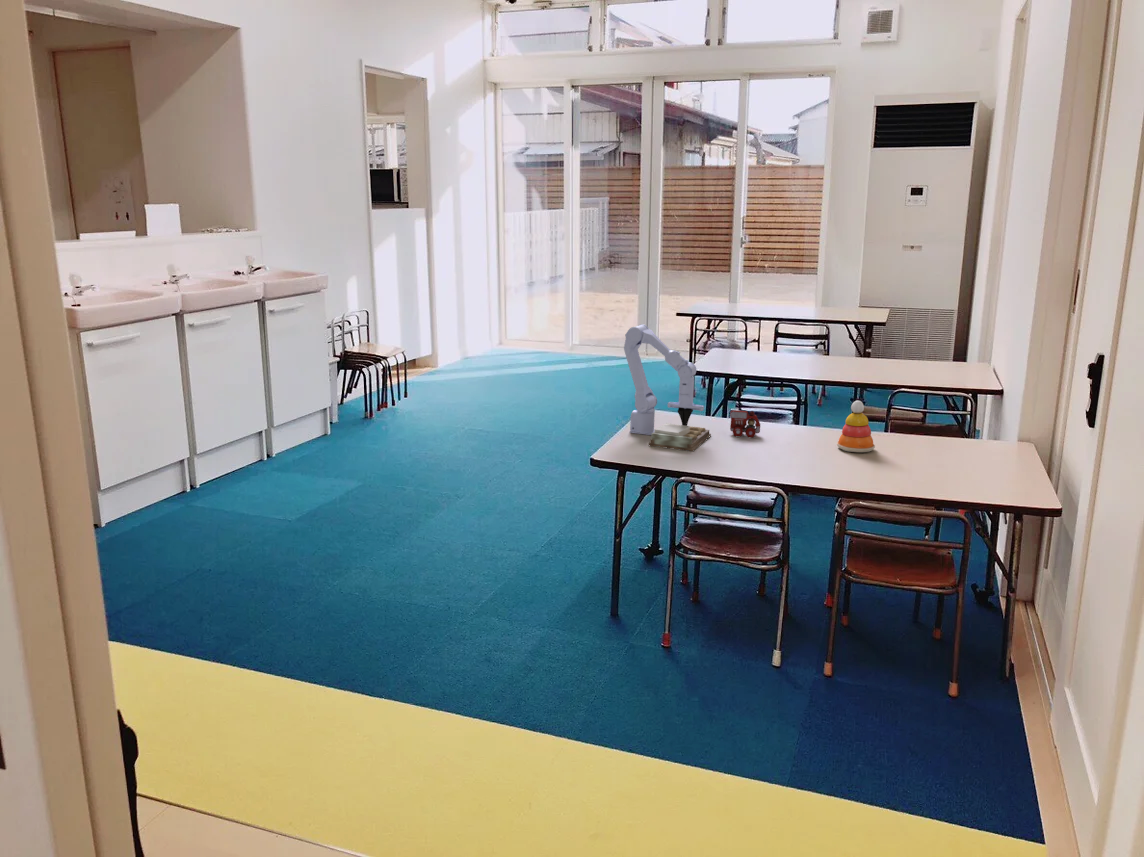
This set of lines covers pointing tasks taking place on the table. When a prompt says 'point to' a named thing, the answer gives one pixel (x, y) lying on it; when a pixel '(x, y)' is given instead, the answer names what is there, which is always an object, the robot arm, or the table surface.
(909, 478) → the table surface
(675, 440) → the brown-green flat block
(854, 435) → the stacking toy
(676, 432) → the stone slab
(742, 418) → the toy fire truck
